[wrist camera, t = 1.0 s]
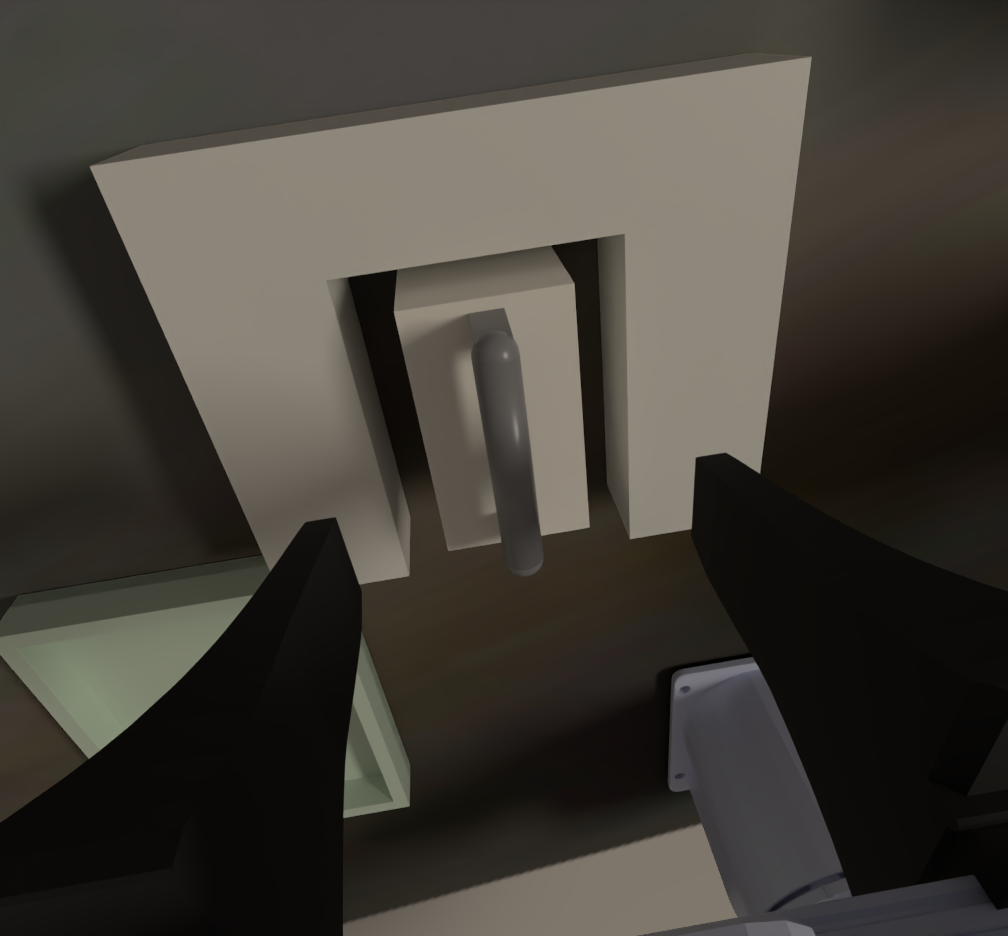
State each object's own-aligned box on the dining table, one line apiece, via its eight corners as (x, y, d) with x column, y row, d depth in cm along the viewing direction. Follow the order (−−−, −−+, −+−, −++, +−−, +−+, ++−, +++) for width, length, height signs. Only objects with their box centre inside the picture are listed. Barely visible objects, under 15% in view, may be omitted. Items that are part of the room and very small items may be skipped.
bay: (718, 465, 23) (754, 518, 20) (296, 535, 23) (281, 597, 20) (750, 53, 16) (811, 56, 14) (141, 145, 16) (89, 166, 13)
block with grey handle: (560, 443, 22) (606, 577, 17) (442, 462, 22) (451, 603, 16) (541, 231, 18) (594, 315, 13) (398, 253, 18) (390, 349, 13)
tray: (410, 764, 31) (409, 806, 29) (179, 805, 31) (165, 849, 29) (330, 543, 23) (322, 583, 21) (18, 595, 23) (-13, 639, 21)
